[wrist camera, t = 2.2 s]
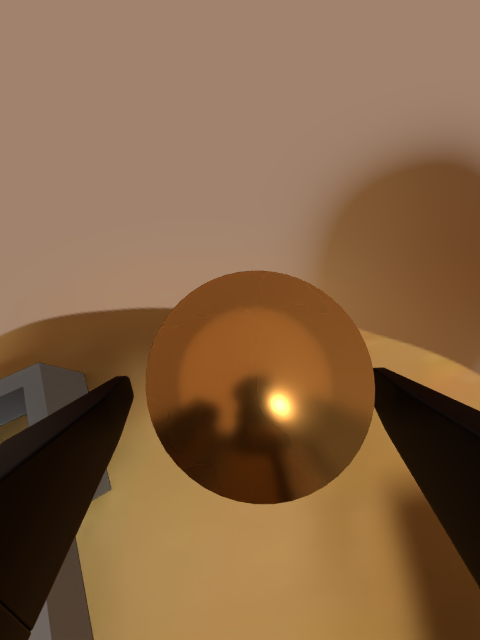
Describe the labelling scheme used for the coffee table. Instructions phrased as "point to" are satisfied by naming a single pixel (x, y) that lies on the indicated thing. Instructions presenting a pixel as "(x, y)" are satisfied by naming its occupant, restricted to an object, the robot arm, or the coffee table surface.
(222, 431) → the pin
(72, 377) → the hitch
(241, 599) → the coffee table surface
